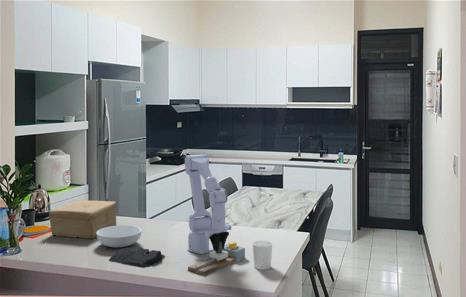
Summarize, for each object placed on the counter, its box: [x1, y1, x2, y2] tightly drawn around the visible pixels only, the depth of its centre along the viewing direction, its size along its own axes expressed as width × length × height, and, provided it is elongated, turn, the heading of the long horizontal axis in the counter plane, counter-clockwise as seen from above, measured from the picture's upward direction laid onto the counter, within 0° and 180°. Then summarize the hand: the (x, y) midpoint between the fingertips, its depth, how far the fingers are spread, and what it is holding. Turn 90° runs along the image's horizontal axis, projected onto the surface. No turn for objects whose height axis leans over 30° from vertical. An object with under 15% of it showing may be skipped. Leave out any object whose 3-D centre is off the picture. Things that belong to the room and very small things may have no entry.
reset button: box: [227, 241, 238, 250], centre depth 206 cm, size 4×4×4 cm
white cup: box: [252, 240, 273, 271], centre depth 194 cm, size 8×8×10 cm
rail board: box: [187, 256, 236, 276], centre depth 197 cm, size 9×20×2 cm, turn 140°
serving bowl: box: [96, 224, 142, 249], centre depth 226 cm, size 21×21×7 cm
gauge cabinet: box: [222, 244, 246, 262], centre depth 206 cm, size 9×6×4 cm, turn 50°
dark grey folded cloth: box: [108, 247, 166, 269], centre depth 206 cm, size 15×22×5 cm
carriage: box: [209, 241, 228, 261], centre depth 199 cm, size 6×5×8 cm
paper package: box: [48, 199, 117, 239], centre depth 249 cm, size 27×26×14 cm
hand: (218, 249), depth 199 cm, fingers closed on carriage, 3 cm apart
